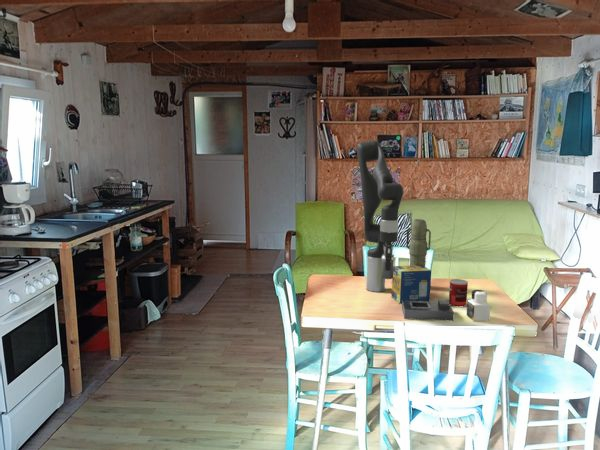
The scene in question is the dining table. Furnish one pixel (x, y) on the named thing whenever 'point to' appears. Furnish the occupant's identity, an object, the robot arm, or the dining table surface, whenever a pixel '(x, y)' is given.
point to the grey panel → (427, 310)
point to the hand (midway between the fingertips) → (387, 268)
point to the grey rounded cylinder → (385, 273)
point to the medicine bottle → (478, 306)
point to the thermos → (418, 242)
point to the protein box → (411, 283)
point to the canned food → (458, 292)
